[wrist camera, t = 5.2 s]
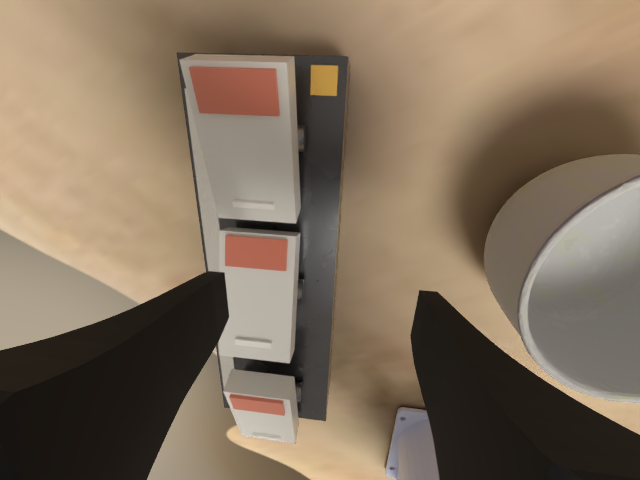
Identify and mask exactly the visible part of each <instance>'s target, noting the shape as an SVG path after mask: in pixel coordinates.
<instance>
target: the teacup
mask: <svg viewBox="0 0 640 480" xmlns="http://www.w3.org/2000/svg"><path fill="white" fill-rule="evenodd" d="M484 268H485V273H486V277H487V281H488V283H489V286H490V288H491V291H492V293H493V295H494V297H495V298H496V300H497V302H498V303H499V305H500V307H501V308H502V310H503V311H504V313H505V315H506V316H507V318H508V319H509V321H510V322H511V323H512V325H513V326H514V328H515V329H516V330H517V332H518V333H519V335H520V336H521V339H522V341H523V343H524V346H525V347H526V349H527V351H528V353H529V354H530V355H531V357H532V358H533V359H534V360H535V361H536V363H537V364H538V365H539V366H540V367H541V368H542V369H543V370H544V371H545V372H547V373H548V374H549V375H550V376H551V377H553V378H554V379H556V380H558V381H559V382H560V383H562V384H564V385H565V386H567V387H569V388H571V389H573V390H576V391H578V392H580V393H584V394H587V395H589V396H593V397H596V398H601V399H605V400H609V401H616V402H627V403H640V154H610V155H600V156H593V157H587V158H582V159H578V160H575V161H571V162H568V163H565V164H562V165H559V166H557V167H554V168H552V169H550V170H548V171H546V172H544V173H542V174H540V175H539V176H537V177H536V178H534V179H532V180H531V181H529V182H528V183H526V184H525V185H524V186H522V187H521V188H520V189H519V190H518V191H517V192H515V193H514V194H513V195H512V196H511V197H510V198H509V199H508V200H507V202H506V203H505V204H504V205H503V207H502V208H501V209H500V211H499V212H498V214H497V215H496V217H495V218H494V220H493V223H492V225H491V227H490V229H489V232H488V235H487V238H486V242H485V248H484Z"/></svg>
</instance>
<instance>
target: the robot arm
mask: <svg viewBox="0 0 640 480" xmlns="http://www.w3.org/2000/svg"><path fill="white" fill-rule="evenodd" d="M228 319H229V310H228V300H227V291H226V281H225V273H224V272H213V271H208V272H206V273H203V274H201V275H199V276H197V277H195V278H193V279H191V280H189V281H187V282H185V283H183V284H181V285H179V286H177V287H175V288H173V289H171V290H170V291H168V292H166V293H164V294H162V295H160V296H158V297H155V298H153V299H151V300H149V301H147V302H145V303H143V304H141V305H139V306H136V307H134V308H132V309H130V310H127V311H125V312H123V313H120V314H118V315H116V316H113V317H110V318H108V319H105V320H102V321H100V322H97V323H94V324H92V325H88V326H86V327H82V328H79V329H76V330H73V331H70V332H67V333H64V334H61V335H58V336H55V337H51V338H48V339H44V340H40V341H37V342H33V343H29V344H25V345H21V346H17V347H13V348H9V349H5V350H1V351H0V480H147V478H148V475H149V473H150V470H151V468H152V466H153V463H154V461H155V459H156V457H157V454H158V452H159V450H160V448H161V446H162V443H163V441H164V439H165V437H166V435H167V432H168V430H169V428H170V426H171V424H172V422H173V420H174V418H175V416H176V414H177V411H178V410H179V407H180V405H181V404H182V402H183V400H184V398H185V396H186V394H187V393H188V391H189V389H190V388H191V386H192V384H193V383H194V381H195V379H196V378H197V376H198V375H199V373H200V371H201V369H202V368H203V366H204V365H205V363H206V362H207V360H208V358H209V357H210V355H211V353H212V352H213V350H214V348H215V346H216V345H217V343H218V341H219V340H220V337H221V335H222V333H223V331H224V328H225V326H226V323H227V321H228ZM411 344H412V352H413V359H414V365H415V369H416V373H417V377H418V380H419V384H420V388H421V392H422V396H423V400H424V403H425V407H426V410H422V409H414V408H406V407H401V408H399V409H398V410H397V415H396V420H395V425H394V430H393V435H392V440H391V445H390V450H389V455H388V460H387V465H386V470H385V471H386V476H387V477H390V478H396V480H640V435H639V434H637V433H635V432H633V431H631V430H629V429H627V428H625V427H623V426H621V425H620V424H618V423H616V422H614V421H612V420H610V419H609V418H607V417H605V416H603V415H601V414H599V413H597V412H596V411H594V410H592V409H590V408H589V407H587V406H585V405H583V404H582V403H580V402H578V401H576V400H575V399H573V398H571V397H570V396H568V395H567V394H565V393H563V392H562V391H560V390H559V389H557V388H555V387H554V386H552V385H551V384H549V383H547V382H546V381H544V380H543V379H541V378H540V377H538V376H537V375H535V374H534V373H532V372H531V371H530V370H528V369H527V368H525V367H524V366H523V365H521V364H520V363H518V362H517V361H516V360H514V359H513V358H511V357H510V356H509V355H508V354H506V353H505V352H504V351H502V350H501V349H500V348H499V347H498V346H496V345H495V344H494V343H493V342H491V341H490V340H489V339H488V338H487V337H485V336H484V335H483V334H482V333H481V332H480V331H479V330H477V329H476V328H475V327H474V326H473V325H472V324H471V323H470V322H469V321H468V320H466V319H465V318H464V317H463V316H462V315H461V314H460V313H459V312H458V311H457V310H456V309H455V308H454V307H453V306H452V305H451V304H450V303H449V302H448V301H447V300H446V299H444V298H443V297H442V296H441V295H440V294H439V293H438V292H432V291H422V290H419V295H418V301H417V306H416V311H415V316H414V321H413V326H412V331H411Z"/></svg>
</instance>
